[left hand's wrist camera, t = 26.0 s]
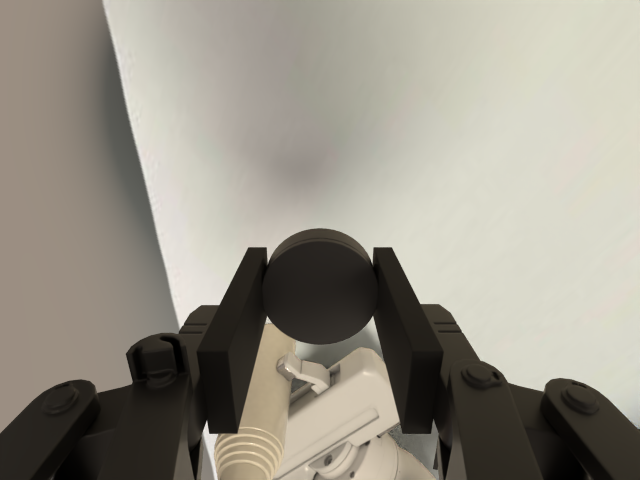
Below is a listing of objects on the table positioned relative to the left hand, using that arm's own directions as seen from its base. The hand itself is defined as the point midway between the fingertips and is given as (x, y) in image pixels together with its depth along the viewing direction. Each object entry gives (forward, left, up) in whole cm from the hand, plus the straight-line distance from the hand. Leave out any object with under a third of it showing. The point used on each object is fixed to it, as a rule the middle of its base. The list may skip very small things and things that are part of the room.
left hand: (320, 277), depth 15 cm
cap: (0, 0, +1) cm, 1 cm away
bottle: (+18, -7, -19) cm, 27 cm away
